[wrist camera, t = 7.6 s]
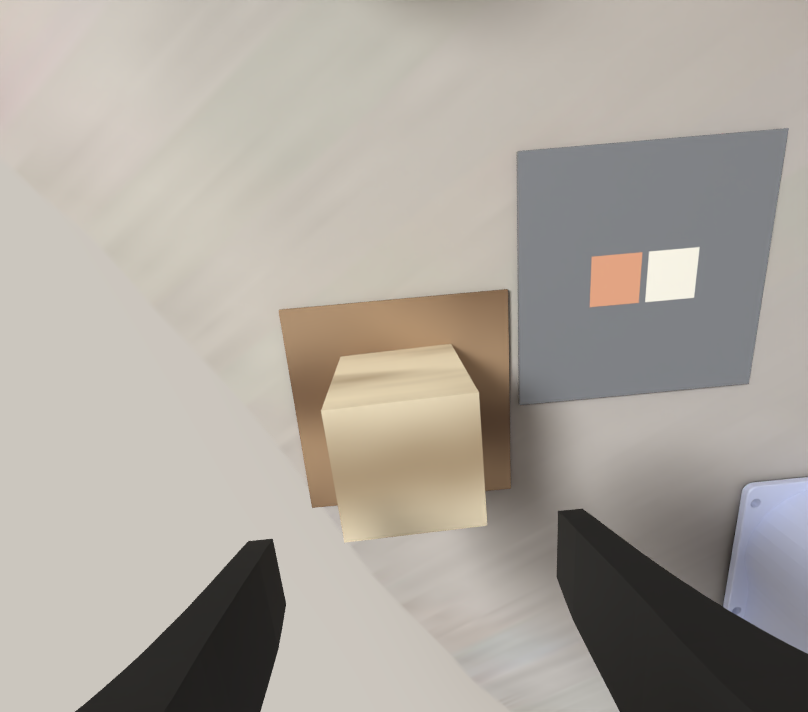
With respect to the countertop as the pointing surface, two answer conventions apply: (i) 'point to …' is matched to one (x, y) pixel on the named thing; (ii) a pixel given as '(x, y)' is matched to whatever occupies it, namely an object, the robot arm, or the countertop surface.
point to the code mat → (643, 263)
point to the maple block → (405, 443)
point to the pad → (395, 330)
